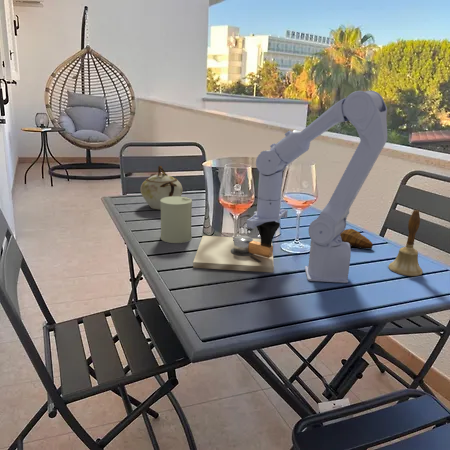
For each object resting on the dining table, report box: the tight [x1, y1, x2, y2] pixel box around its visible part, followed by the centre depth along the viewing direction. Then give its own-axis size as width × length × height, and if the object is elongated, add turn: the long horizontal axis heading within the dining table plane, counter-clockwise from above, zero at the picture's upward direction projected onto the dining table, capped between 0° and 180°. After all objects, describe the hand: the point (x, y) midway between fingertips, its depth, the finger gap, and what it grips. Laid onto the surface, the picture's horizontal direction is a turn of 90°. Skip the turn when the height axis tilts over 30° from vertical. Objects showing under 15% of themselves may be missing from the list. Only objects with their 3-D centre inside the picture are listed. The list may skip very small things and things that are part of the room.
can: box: [160, 195, 193, 244], centre depth 131 cm, size 9×9×12 cm
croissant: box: [340, 228, 374, 250], centre depth 132 cm, size 14×7×5 cm, turn 49°
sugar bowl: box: [140, 165, 183, 211], centre depth 162 cm, size 20×15×15 cm
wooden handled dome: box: [233, 235, 274, 258], centre depth 118 cm, size 11×5×3 cm, turn 55°
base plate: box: [192, 235, 275, 273], centre depth 122 cm, size 20×20×2 cm
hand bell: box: [388, 209, 423, 277], centre depth 114 cm, size 8×8×16 cm
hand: (265, 248), depth 118 cm, fingers closed, pressing on wooden handled dome
